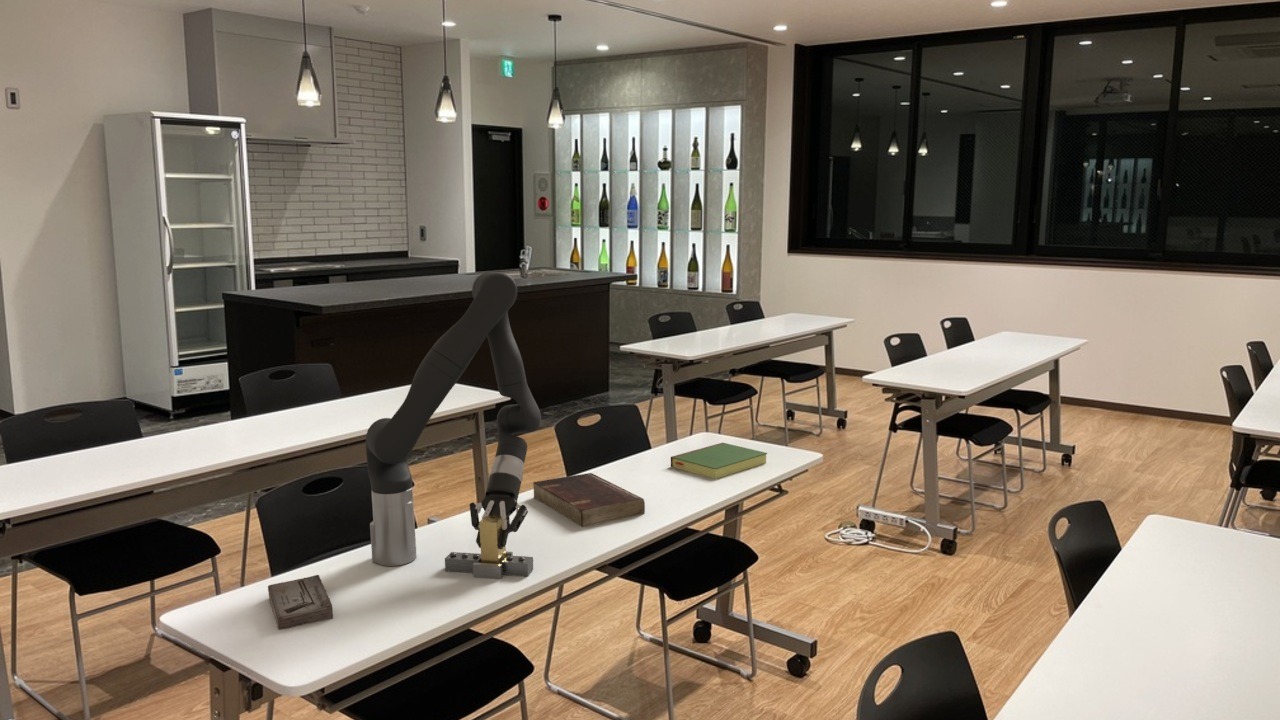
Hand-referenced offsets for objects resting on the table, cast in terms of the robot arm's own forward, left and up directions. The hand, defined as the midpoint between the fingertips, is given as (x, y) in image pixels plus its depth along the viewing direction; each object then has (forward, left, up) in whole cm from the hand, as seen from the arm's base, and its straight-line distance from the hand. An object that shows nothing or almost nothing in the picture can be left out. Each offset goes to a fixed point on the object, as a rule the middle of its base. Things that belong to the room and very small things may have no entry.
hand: (490, 546), depth 209 cm
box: (-33, -23, -7) cm, 41 cm away
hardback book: (+10, +50, -7) cm, 51 cm away
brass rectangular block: (0, +2, -4) cm, 5 cm away
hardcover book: (+41, +94, -7) cm, 103 cm away
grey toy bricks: (0, +2, -6) cm, 7 cm away
